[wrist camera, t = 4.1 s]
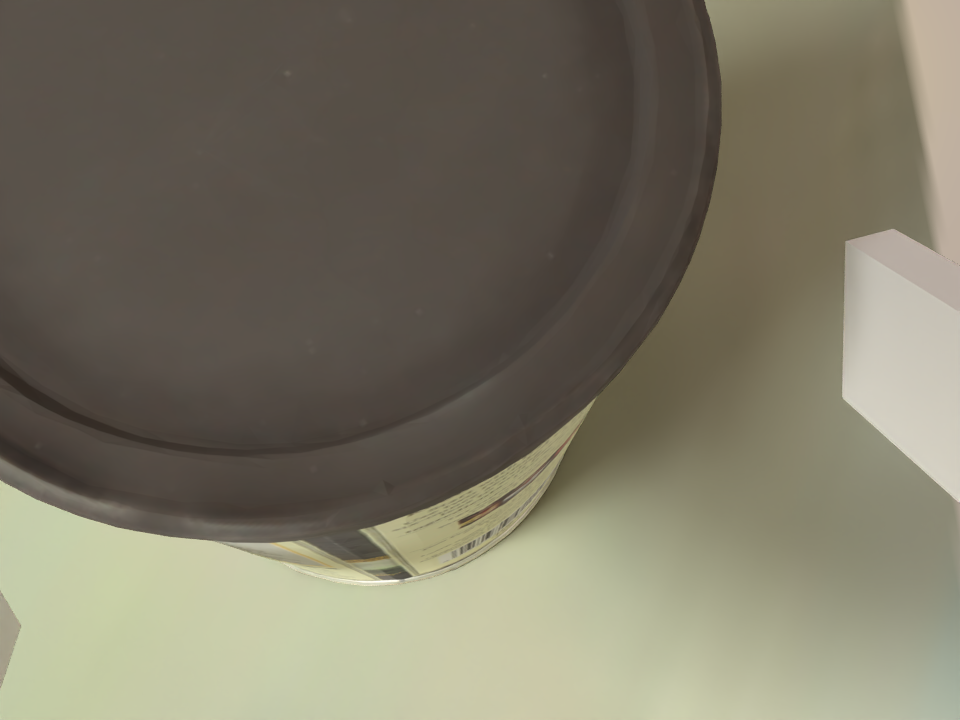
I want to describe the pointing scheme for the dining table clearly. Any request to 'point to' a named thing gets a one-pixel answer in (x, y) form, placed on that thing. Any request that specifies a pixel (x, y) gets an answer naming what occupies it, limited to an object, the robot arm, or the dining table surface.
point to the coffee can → (335, 258)
